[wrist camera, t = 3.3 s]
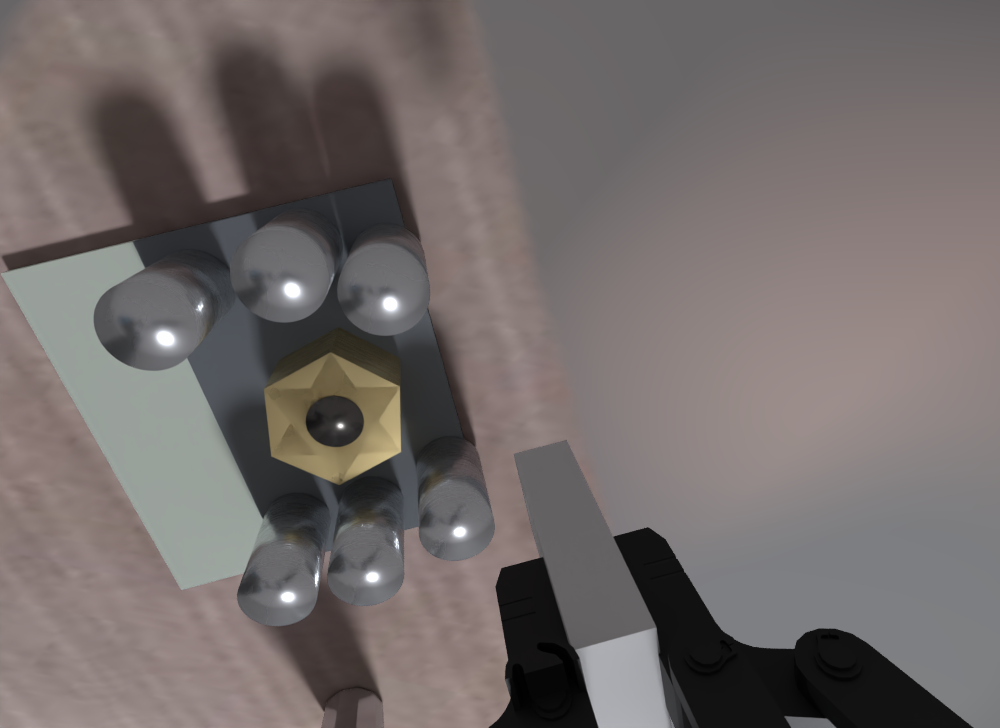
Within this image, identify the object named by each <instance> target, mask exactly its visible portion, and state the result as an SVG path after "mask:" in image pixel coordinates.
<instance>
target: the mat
mask: <svg viewBox="0 0 1000 728" xmlns="http://www.w3.org/2000/svg"><path fill="white" fill-rule="evenodd" d="M295 208H306V209H311V210H314V211H317V212H319V213H321V214H323V215H324V216H326V217H327V218H328V219H329V220H331V222H332V223H333V224H334V225H335V226H336V228H337V229H338V231H339V233H340V235H341V238H342V242H343V257H342V261H341V263H340V266H339V268H338V270H337V272H336V275H335V277H334V279H333V282H332V284H331V286H330V288H329V291H328V293H327V295H326V297H325V299H324V301H323V303H322V304H321V306H320V307H319V308H318V309H317V310H316V311H315V312H314V313H313V314H311V315H309V316H308V317H306V318H304V319H301V320H298V321H294V322H275V321H270V320H267V319H264V318H262V317H260V316H258V315H256V314H254V313H253V312H252V311H250V310H249V309H248V308H247V307H246V306H245V305H244V304H243V303H242V302H241V301H240V300H239V298H238V296H237V295H236V300H235V303H234V305H233V307H232V308H231V310H230V311H229V312H228V313H227V315H226V316H225V317H224V318H223V319H222V320H221V321H220V322H219V323H218V324H217V325H216V327H215V328H214V329H213V330H212V331H211V332H210V333H209V334H208V335H207V336H206V338H205V339H204V340H203V341H202V342H201V343H200V344H199V345H198V346H197V347H196V348H195V350H194V351H193V352H192V353H191V354H190V355H189V356H188V357H187V358H186V359H185V360H184V361H183V362H181V363H180V364H178V365H176V366H174V367H172V368H169V369H166V370H160V371H147V370H140V369H137V368H133V367H131V366H128V365H126V364H124V363H122V362H120V361H119V360H117V359H116V358H115V357H113V356H112V355H111V354H110V353H109V352H108V351H107V350H106V349H105V348H104V346H103V345H102V344H101V342H100V340H99V339H98V336H97V334H96V331H95V328H94V310H95V307H96V304H97V302H98V301H99V299H100V298H101V296H102V295H103V294H104V293H105V292H106V291H107V290H109V289H110V288H112V287H113V286H115V285H117V284H119V283H120V282H122V281H124V280H126V279H127V278H129V277H131V276H133V275H134V274H136V273H138V272H140V271H141V270H143V269H145V268H147V267H148V266H150V265H152V264H154V263H155V262H157V261H159V260H161V259H162V258H164V257H166V256H168V255H169V254H171V253H173V252H176V251H179V250H184V249H197V250H202V251H205V252H208V253H210V254H212V255H214V256H215V257H217V258H218V259H220V260H221V261H222V262H223V263H224V264H225V265H226V266H227V267H228V268H229V270H230V266H231V261H232V258H233V255H234V253H235V251H236V250H237V248H238V247H239V246H240V244H241V243H242V242H243V241H245V240H246V239H247V238H248V237H250V236H251V235H252V234H254V233H255V232H256V231H258V230H259V229H260V228H262V227H263V226H264V225H266V224H267V223H268V222H270V221H271V220H272V219H273V218H275V217H276V216H278V215H279V214H281V213H282V212H284V211H287V210H290V209H295ZM379 223H394V224H398V225H401V226H403V227H405V225H404V222H403V218H402V215H401V211H400V208H399V204H398V200H397V197H396V193H395V190H394V186H393V182H392V179H391V178H389V179H385V180H381V181H377V182H372V183H368V184H364V185H360V186H356V187H352V188H348V189H343V190H339V191H335V192H331V193H327V194H323V195H319V196H315V197H310V198H306V199H302V200H298V201H294V202H290V203H286V204H281V205H277V206H273V207H269V208H265V209H261V210H257V211H252V212H248V213H244V214H240V215H236V216H232V217H228V218H224V219H219V220H215V221H211V222H207V223H203V224H199V225H195V226H190V227H186V228H182V229H178V230H174V231H170V232H166V233H162V234H157V235H153V236H149V237H145V238H141V239H137V240H133V241H128V242H124V243H120V244H116V245H112V246H108V247H104V248H100V249H95V250H91V251H87V252H83V253H79V254H75V255H71V256H66V257H62V258H58V259H54V260H50V261H46V262H42V263H38V264H33V265H29V266H25V267H21V268H17V269H13V270H9V271H6V272H3V273H1V275H2V277H3V279H4V281H5V282H6V284H7V286H8V287H9V289H10V291H11V293H12V294H13V296H14V298H15V300H16V301H17V303H18V305H19V307H20V308H21V310H22V312H23V314H24V315H25V317H26V319H27V321H28V322H29V324H30V326H31V328H32V329H33V331H34V333H35V335H36V336H37V338H38V340H39V342H40V343H41V345H42V347H43V349H44V350H45V352H46V354H47V356H48V357H49V359H50V361H51V363H52V364H53V366H54V368H55V370H56V371H57V373H58V375H59V377H60V378H61V380H62V382H63V384H64V385H65V387H66V389H67V391H68V392H69V394H70V396H71V398H72V399H73V401H74V403H75V405H76V406H77V408H78V410H79V412H80V413H81V415H82V417H83V419H84V420H85V422H86V424H87V426H88V427H89V429H90V431H91V433H92V434H93V436H94V438H95V440H96V441H97V443H98V445H99V447H100V448H101V450H102V452H103V454H104V455H105V457H106V459H107V461H108V462H109V464H110V466H111V468H112V469H113V471H114V473H115V475H116V476H117V478H118V480H119V482H120V483H121V485H122V487H123V489H124V490H125V492H126V494H127V496H128V497H129V499H130V501H131V503H132V504H133V506H134V508H135V510H136V511H137V513H138V515H139V517H140V518H141V520H142V522H143V524H144V525H145V527H146V529H147V531H148V532H149V534H150V536H151V538H152V539H153V541H154V543H155V545H156V546H157V548H158V550H159V552H160V553H161V555H162V557H163V559H164V560H165V562H166V564H167V566H168V567H169V569H170V571H171V573H172V574H173V576H174V578H175V580H176V581H177V583H178V585H179V587H180V588H181V590H184V589H188V588H191V587H195V586H198V585H202V584H206V583H209V582H213V581H217V580H220V579H224V578H228V577H231V576H235V575H239V574H242V573H244V572H245V569H246V566H247V564H248V561H249V558H250V555H251V552H252V549H253V547H254V544H255V541H256V538H257V535H258V532H259V529H260V527H261V524H262V521H263V518H264V515H265V512H266V510H267V508H268V506H269V505H270V504H271V503H272V502H273V501H274V500H275V499H276V498H278V497H280V496H282V495H285V494H288V493H295V492H300V493H307V494H310V495H313V496H315V497H317V498H319V499H320V500H321V501H323V502H324V503H325V505H326V506H327V507H328V509H329V511H330V514H331V524H330V529H329V535H328V540H327V546H326V552H327V551H331V550H332V544H333V538H334V532H335V526H336V520H337V514H338V508H339V502H340V497H341V494H342V492H343V490H344V489H345V488H346V487H347V486H348V485H349V484H350V483H351V482H353V481H355V480H357V479H359V478H362V477H366V476H378V477H383V478H386V479H388V480H390V481H392V482H393V483H395V484H396V485H397V486H398V487H399V489H400V490H401V492H402V494H403V498H404V530H407V529H411V528H414V527H418V526H419V519H418V493H417V467H416V464H417V458H418V455H419V453H420V451H421V450H422V448H423V447H424V446H425V445H426V444H428V443H429V442H430V441H432V440H434V439H436V438H439V437H443V436H458V437H461V438H464V437H463V433H462V429H461V426H460V422H459V419H458V415H457V412H456V408H455V404H454V401H453V397H452V394H451V390H450V387H449V383H448V379H447V376H446V372H445V369H444V365H443V361H442V358H441V354H440V351H439V347H438V344H437V340H436V336H435V333H434V329H433V326H432V322H431V319H430V315H429V311H428V308H427V310H426V312H425V314H424V315H423V317H422V318H421V320H420V321H419V322H418V323H417V324H416V325H414V326H413V327H412V328H410V329H409V330H407V331H405V332H403V333H399V334H396V335H389V336H381V335H374V334H371V333H368V332H365V331H363V330H361V329H360V328H358V327H357V326H355V325H354V324H353V323H352V322H351V321H350V320H349V319H348V318H347V317H346V315H345V314H344V312H343V310H342V308H341V306H340V304H339V300H338V294H337V286H338V280H339V277H340V274H341V272H342V269H343V267H344V264H345V262H346V259H347V257H348V254H349V252H350V250H351V247H352V245H353V243H354V241H355V239H356V238H357V236H358V235H359V234H360V233H361V232H362V231H363V230H365V229H366V228H368V227H370V226H372V225H375V224H379ZM338 327H340V328H342V329H344V330H346V331H348V332H350V333H352V334H354V335H356V336H358V337H360V338H361V339H363V340H365V341H367V342H369V343H371V344H373V345H375V346H377V347H379V348H381V349H383V350H385V351H387V352H389V353H391V354H393V355H395V356H396V357H398V358H400V376H401V452H400V453H398V454H396V455H394V456H392V457H391V458H389V459H387V460H385V461H383V462H381V463H379V464H378V465H376V466H374V467H372V468H370V469H368V470H366V471H365V472H363V473H361V474H359V475H357V476H355V477H353V478H352V479H350V480H348V481H346V482H344V483H342V484H340V485H338V484H335V483H333V482H331V481H328V480H326V479H324V478H321V477H319V476H316V475H314V474H312V473H309V472H307V471H305V470H302V469H300V468H297V467H295V466H293V465H290V464H288V463H286V462H283V461H281V460H278V459H276V458H274V457H271V448H270V439H269V430H268V421H267V412H266V403H265V394H264V388H265V386H266V384H267V382H268V380H269V378H270V377H271V375H272V373H273V371H274V369H275V367H276V365H277V363H278V361H279V360H280V359H282V358H283V357H285V356H287V355H289V354H291V353H292V352H294V351H296V350H298V349H300V348H301V347H303V346H305V345H307V344H309V343H310V342H312V341H314V340H316V339H318V338H319V337H321V336H323V335H325V334H327V333H329V332H330V331H332V330H334V329H336V328H338Z"/></svg>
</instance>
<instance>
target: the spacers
mask: <svg viewBox="0 0 1000 728" xmlns="http://www.w3.org/2000/svg"><path fill="white" fill-rule="evenodd" d="M342 257H343V242H342V238H341V235H340V233H339V231H338V229H337V228H336V226H335V225H334V224H333V223H332V222H331V220H329V219H328V218H327V217H326V216H324V215H323V214H321V213H319V212H317V211H314V210H311V209H306V208H295V209H290V210H287V211H284V212H282V213H281V214H279V215H278V216H276V217H275V218H273V219H272V220H271V221H270V222H268V223H267V224H266V225H264V226H263V227H262V228H260V229H259V230H258V231H256V232H255V233H254V234H252V235H251V236H250V237H248V238H247V239H246V240H245V241H243V242H242V243H241V244H240V246H239V247H238V248H237V250H236V251H235V253H234V255H233V258H232V261H231V266H230V270H229V268H228V267H227V266H226V265H225V264H224V263H223V262H222V261H221V260H220V259H218V258H217V257H215V256H214V255H212V254H210V253H208V252H205V251H202V250H197V249H184V250H179V251H176V252H173V253H171V254H169V255H168V256H166V257H164V258H162V259H161V260H159V261H157V262H155V263H154V264H152V265H150V266H148V267H147V268H145V269H143V270H141V271H140V272H138V273H136V274H134V275H133V276H131V277H129V278H127V279H126V280H124V281H122V282H120V283H119V284H117V285H115V286H113V287H112V288H110V289H109V290H107V291H106V292H105V293H104V294H103V295H102V296H101V298H100V299H99V301H98V302H97V304H96V307H95V310H94V328H95V331H96V334H97V336H98V339H99V340H100V342H101V344H102V345H103V346H104V348H105V349H106V350H107V351H108V352H109V353H110V354H111V355H112V356H113V357H115V358H116V359H117V360H119V361H120V362H122V363H124V364H126V365H128V366H131V367H133V368H137V369H140V370H147V371H160V370H166V369H169V368H172V367H174V366H176V365H178V364H180V363H181V362H183V361H184V360H185V359H186V358H187V357H188V356H189V355H190V354H191V353H192V352H193V351H194V350H195V348H196V347H197V346H198V345H199V344H200V343H201V342H202V341H203V340H204V339H205V338H206V336H207V335H208V334H209V333H210V332H211V331H212V330H213V329H214V328H215V327H216V325H217V324H218V323H219V322H220V321H221V320H222V319H223V318H224V317H225V316H226V315H227V313H228V312H229V311H230V310H231V308H232V307H233V305H234V303H235V300H236V295H237V296H238V298H239V300H240V301H241V302H242V303H243V304H244V305H245V306H246V307H247V308H248V309H249V310H250V311H252V312H253V313H254V314H256V315H258V316H260V317H262V318H264V319H267V320H270V321H275V322H294V321H298V320H301V319H304V318H306V317H308V316H309V315H311V314H313V313H314V312H315V311H316V310H317V309H318V308H319V307H320V306H321V304H322V303H323V301H324V299H325V297H326V295H327V293H328V291H329V288H330V286H331V284H332V282H333V279H334V277H335V275H336V272H337V270H338V268H339V266H340V263H341V261H342ZM337 294H338V300H339V304H340V306H341V308H342V310H343V312H344V314H345V315H346V317H347V318H348V319H349V320H350V321H351V322H352V323H353V324H354V325H355V326H357V327H358V328H360V329H361V330H363V331H365V332H368V333H371V334H374V335H381V336H389V335H396V334H399V333H403V332H405V331H407V330H409V329H410V328H412V327H413V326H414V325H416V324H417V323H418V322H419V321H420V320H421V318H422V317H423V315H424V314H425V312H426V310H427V307H428V304H429V300H430V285H429V279H428V273H427V267H426V260H425V254H424V250H423V247H422V245H421V243H420V241H419V240H418V238H417V237H416V236H415V235H414V234H413V233H412V232H411V231H410V230H408V229H407V228H405V227H403V226H401V225H398V224H394V223H379V224H375V225H372V226H370V227H368V228H366V229H365V230H363V231H362V232H361V233H360V234H359V235H358V236H357V238H356V239H355V241H354V243H353V245H352V247H351V250H350V252H349V254H348V257H347V259H346V262H345V264H344V267H343V269H342V272H341V274H340V277H339V280H338V286H337ZM416 467H417V493H418V519H419V537H420V541H421V543H422V545H423V547H424V548H425V549H426V550H427V551H428V552H429V553H430V554H432V555H433V556H435V557H437V558H440V559H443V560H449V561H458V560H464V559H468V558H471V557H473V556H475V555H477V554H479V553H480V552H481V551H483V550H484V549H485V548H486V547H487V546H488V544H489V543H490V541H491V540H492V537H493V535H494V530H495V524H494V519H493V514H492V510H491V505H490V501H489V496H488V492H487V488H486V483H485V479H484V474H483V470H482V466H481V461H480V457H479V453H478V451H477V449H476V448H475V446H474V445H473V444H472V443H470V442H469V441H468V440H466V439H464V438H461V437H458V436H443V437H439V438H436V439H434V440H432V441H430V442H429V443H428V444H426V445H425V446H424V447H423V448H422V450H421V451H420V453H419V455H418V458H417V464H416ZM330 524H331V514H330V511H329V509H328V507H327V506H326V505H325V503H324V502H323V501H321V500H320V499H319V498H317V497H315V496H313V495H310V494H307V493H300V492H295V493H288V494H285V495H282V496H280V497H278V498H276V499H275V500H274V501H273V502H272V503H271V504H270V505H269V506H268V508H267V510H266V512H265V515H264V518H263V521H262V524H261V527H260V529H259V532H258V535H257V538H256V541H255V544H254V547H253V549H252V552H251V555H250V558H249V561H248V564H247V566H246V569H245V572H244V575H243V578H242V581H241V583H240V586H239V589H238V594H237V599H238V604H239V606H240V608H241V610H242V611H243V612H244V613H245V615H247V616H248V617H249V618H250V619H252V620H254V621H256V622H258V623H261V624H264V625H269V626H285V625H290V624H293V623H296V622H298V621H300V620H302V619H304V618H305V617H306V616H308V615H309V614H310V613H311V611H312V610H313V609H314V607H315V604H316V601H317V596H318V590H319V585H320V579H321V574H322V568H323V563H324V557H325V552H326V546H327V540H328V535H329V529H330ZM403 579H404V498H403V494H402V492H401V490H400V489H399V487H398V486H397V485H396V484H395V483H393V482H392V481H390V480H388V479H386V478H383V477H378V476H366V477H362V478H359V479H357V480H355V481H353V482H351V483H350V484H349V485H348V486H347V487H346V488H345V489H344V490H343V492H342V494H341V497H340V502H339V508H338V514H337V520H336V526H335V532H334V538H333V544H332V550H331V556H330V562H329V567H328V573H327V581H328V585H329V588H330V590H331V591H332V592H333V594H334V595H335V596H336V597H338V598H339V599H340V600H342V601H344V602H346V603H349V604H352V605H357V606H370V605H376V604H379V603H382V602H384V601H386V600H388V599H390V598H391V597H392V596H394V595H395V594H396V593H397V591H398V590H399V589H400V587H401V585H402V583H403Z"/></svg>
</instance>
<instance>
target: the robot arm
mask: <svg viewBox="0 0 1000 728" xmlns="http://www.w3.org/2000/svg"><path fill="white" fill-rule="evenodd" d="M514 458H515V462H516V466H517V470H518V474H519V478H520V483H521V487H522V491H523V495H524V499H525V503H526V507H527V511H528V515H529V520H530V524H531V528H532V532H533V535H534V539H535V542H536V546H537V549H538V553H539V556H540V558H538V559H534V560H530V561H527V562H523V563H519V564H516V565H512V566H508V567H504V568H501V571H500V574H499V577H498V581H497V584H496V592H497V598H498V604H499V608H500V615H501V621H502V626H503V632H504V638H505V643H506V649H507V655H508V662H507V664H506V670H505V681H506V684H507V687H508V691H509V694H510V697H511V699H510V702H509V704H508V706H507V708H506V710H505V712H504V713H503V714H502V715H501V717H500V718H499V719H498V720H497V721H496V722H495V723H494V724H492V725H491V726H490V727H489V728H672V727H671V720H672V722H673V724H674V727H675V728H973V727H972V726H970V725H969V724H968V723H967V722H965V721H964V720H963V719H962V718H961V717H959V716H958V715H957V714H955V713H954V712H953V711H952V710H951V709H949V708H948V707H947V706H945V705H944V704H943V703H942V702H940V701H939V700H938V699H937V698H935V697H934V696H933V695H932V694H930V693H929V692H928V691H927V690H925V689H924V688H923V687H922V686H920V685H919V684H918V683H917V682H915V681H914V680H913V679H912V678H910V677H909V676H908V675H907V674H905V673H904V672H903V671H902V670H900V669H899V668H898V667H897V666H895V665H894V664H893V663H892V662H890V661H889V660H888V659H887V658H885V657H884V656H882V654H880V653H879V652H878V651H877V650H875V649H874V648H873V647H871V646H870V645H869V644H868V643H866V642H865V641H863V640H861V639H860V638H858V637H856V636H855V635H853V634H851V633H848V632H844V631H841V630H837V629H816V630H813V631H810V632H807V633H805V634H804V635H803V636H802V637H801V638H800V639H798V640H797V642H796V646H795V649H770V648H759V647H752V646H749V645H746V644H743V643H740V642H738V641H736V640H734V639H733V637H731V636H729V635H728V634H726V633H724V632H723V631H722V630H721V629H720V627H719V626H718V625H717V624H716V622H715V621H714V619H713V617H712V616H711V614H710V612H709V611H708V609H707V607H706V606H705V604H704V602H703V601H702V599H701V598H700V596H699V594H698V592H697V591H696V589H695V587H694V586H693V584H692V582H691V581H690V579H689V578H688V576H687V575H686V573H685V572H684V569H683V568H682V566H681V564H680V563H679V561H678V559H676V556H675V554H674V553H673V551H672V549H671V548H670V546H669V544H668V543H667V541H666V539H664V538H663V537H661V536H660V535H659V534H657V533H656V532H654V531H653V530H651V529H650V528H648V527H647V528H644V529H640V530H636V531H632V532H629V533H625V534H621V535H618V536H614V537H613V536H612V534H611V532H610V529H609V527H608V525H607V523H606V521H605V519H604V517H603V515H602V513H601V511H600V509H599V507H598V504H597V502H596V500H595V498H594V496H593V494H592V492H591V490H590V488H589V486H588V484H587V482H586V479H585V477H584V475H583V473H582V471H581V469H580V467H579V465H578V463H577V461H576V459H575V457H574V455H573V452H572V450H571V448H570V446H569V444H568V442H567V440H565V441H561V442H557V443H553V444H550V445H546V446H542V447H538V448H534V449H531V450H527V451H523V452H519V453H515V454H514ZM670 717H671V720H670Z"/></svg>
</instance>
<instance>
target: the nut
mask: <svg viewBox="0 0 1000 728" xmlns="http://www.w3.org/2000/svg"><path fill="white" fill-rule="evenodd" d="M264 394H265V403H266V412H267V421H268V430H269V439H270V448H271V457H274V458H276V459H278V460H281V461H283V462H286V463H288V464H290V465H293V466H295V467H297V468H300V469H302V470H305V471H307V472H309V473H312V474H314V475H316V476H319V477H321V478H324V479H326V480H328V481H331V482H333V483H335V484H338V485H340V484H342V483H344V482H346V481H348V480H350V479H352V478H353V477H355V476H357V475H359V474H361V473H363V472H365V471H366V470H368V469H370V468H372V467H374V466H376V465H378V464H379V463H381V462H383V461H385V460H387V459H389V458H391V457H392V456H394V455H396V454H398V453H400V452H401V376H400V358H398V357H396V356H395V355H393V354H391V353H389V352H387V351H385V350H383V349H381V348H379V347H377V346H375V345H373V344H371V343H369V342H367V341H365V340H363V339H361V338H360V337H358V336H356V335H354V334H352V333H350V332H348V331H346V330H344V329H342V328H340V327H338V328H336V329H334V330H332V331H330V332H329V333H327V334H325V335H323V336H321V337H319V338H318V339H316V340H314V341H312V342H310V343H309V344H307V345H305V346H303V347H301V348H300V349H298V350H296V351H294V352H292V353H291V354H289V355H287V356H285V357H283V358H282V359H280V360H279V361H278V363H277V365H276V367H275V369H274V371H273V373H272V375H271V377H270V378H269V380H268V382H267V384H266V386H265V388H264Z"/></svg>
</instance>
